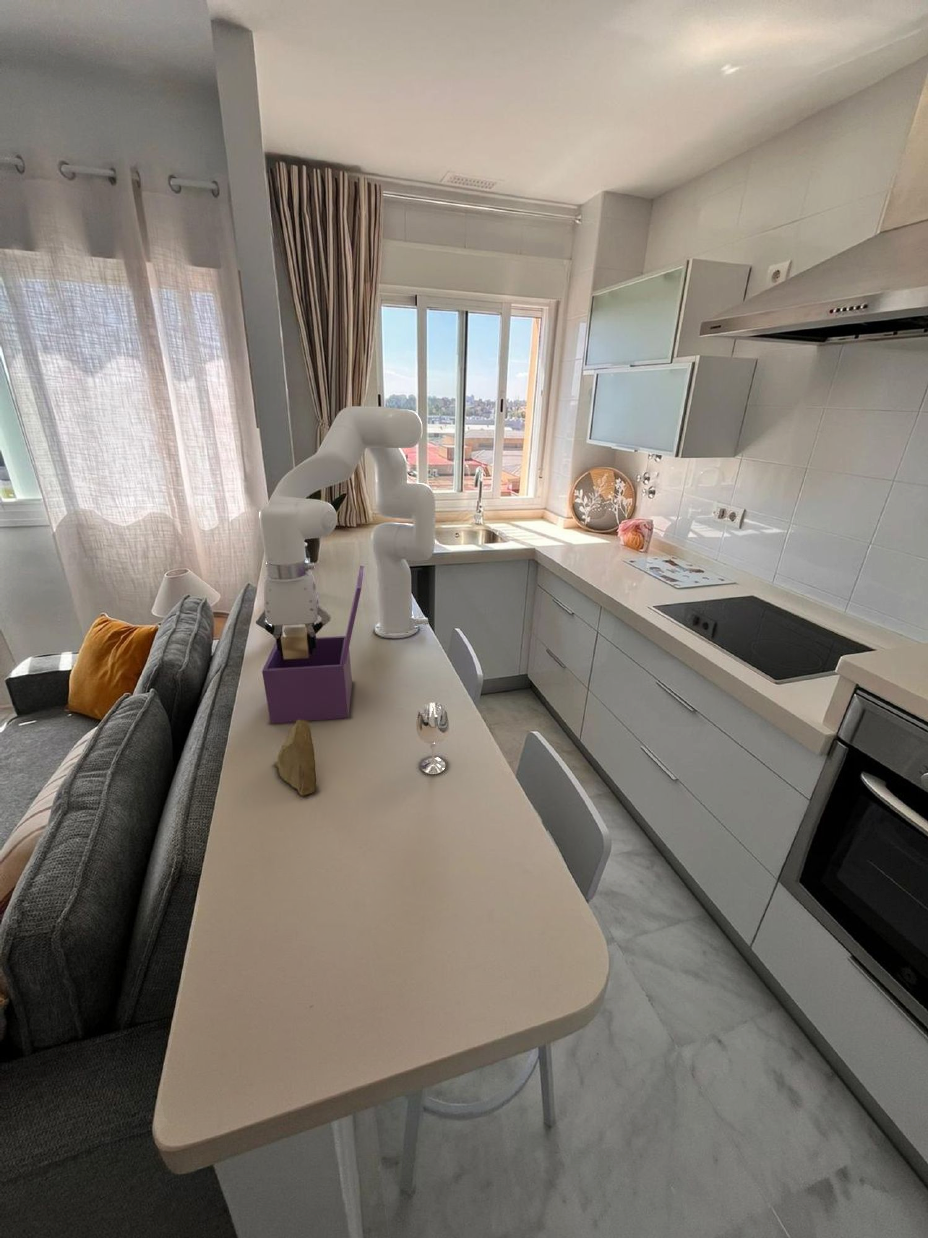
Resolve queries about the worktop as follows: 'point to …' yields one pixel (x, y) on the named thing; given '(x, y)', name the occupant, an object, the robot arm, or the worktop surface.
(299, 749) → the rock
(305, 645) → the block
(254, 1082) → the worktop surface
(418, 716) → the wineglass
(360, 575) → the lid
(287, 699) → the purple box
